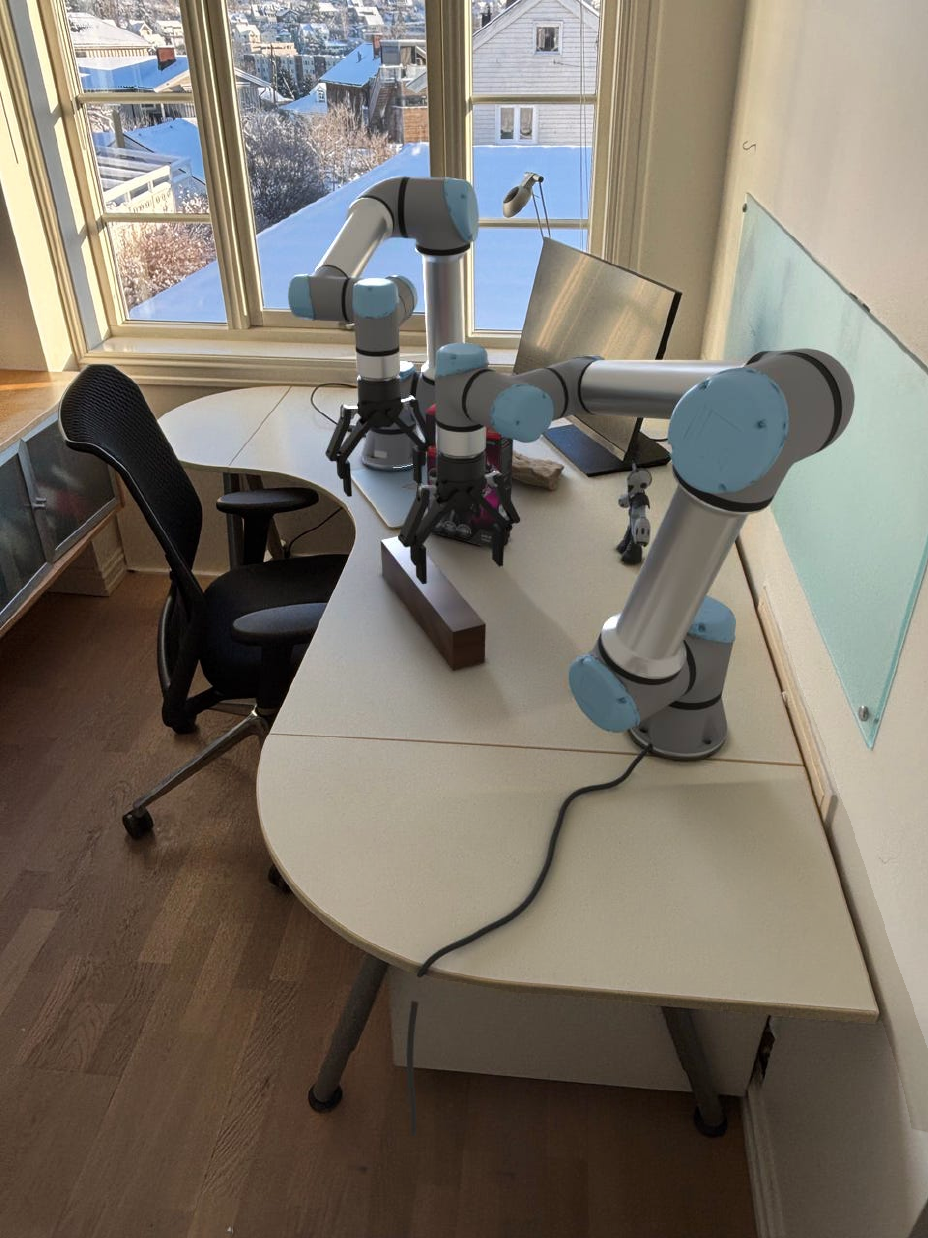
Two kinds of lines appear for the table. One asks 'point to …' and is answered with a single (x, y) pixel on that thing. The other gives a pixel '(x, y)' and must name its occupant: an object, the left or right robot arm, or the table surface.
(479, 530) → the graphics card box
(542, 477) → the stone
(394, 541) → the beam
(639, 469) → the robot
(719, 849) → the table surface
